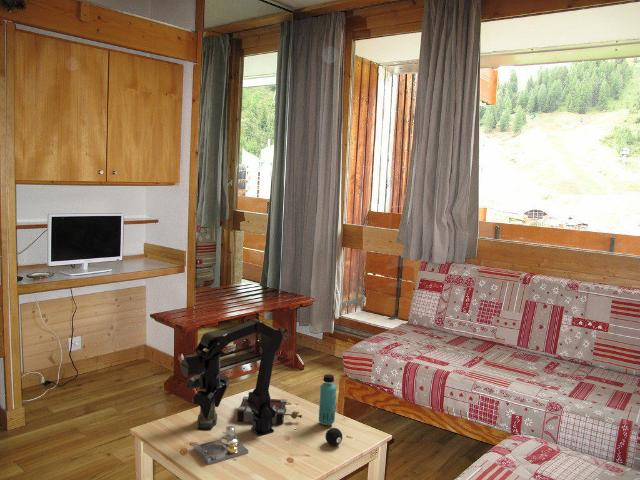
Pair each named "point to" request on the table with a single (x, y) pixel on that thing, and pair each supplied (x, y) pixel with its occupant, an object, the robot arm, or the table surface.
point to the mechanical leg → (212, 419)
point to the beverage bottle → (327, 400)
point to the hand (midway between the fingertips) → (211, 412)
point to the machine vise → (276, 404)
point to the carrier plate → (218, 451)
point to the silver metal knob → (230, 436)
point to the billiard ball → (333, 436)
